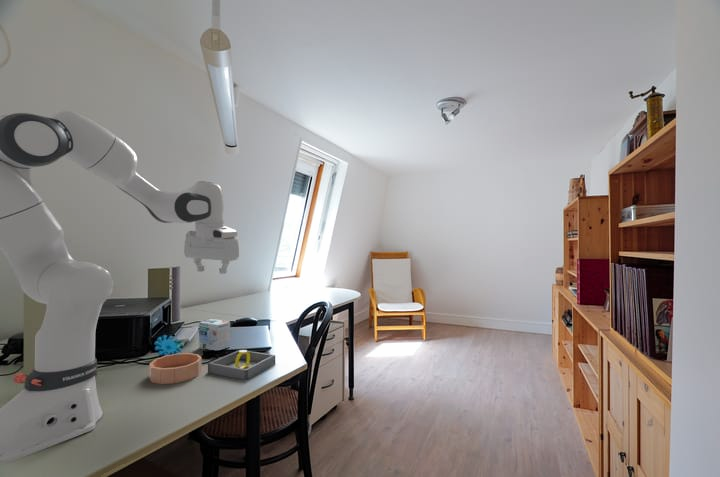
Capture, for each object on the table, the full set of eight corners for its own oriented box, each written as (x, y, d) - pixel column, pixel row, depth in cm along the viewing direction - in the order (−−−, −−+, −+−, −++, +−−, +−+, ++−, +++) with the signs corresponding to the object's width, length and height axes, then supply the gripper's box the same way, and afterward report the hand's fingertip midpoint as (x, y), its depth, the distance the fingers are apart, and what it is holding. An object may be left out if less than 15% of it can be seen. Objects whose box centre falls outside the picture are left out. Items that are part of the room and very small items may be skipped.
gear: (161, 358, 124) (152, 335, 129) (152, 368, 126) (144, 345, 130) (189, 354, 134) (180, 332, 138) (181, 363, 135) (172, 341, 140)
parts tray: (246, 379, 110) (246, 370, 110) (207, 372, 116) (207, 363, 116) (275, 363, 125) (275, 355, 125) (239, 357, 131) (240, 349, 131)
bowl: (173, 386, 105) (173, 371, 105) (139, 379, 110) (139, 364, 110) (210, 369, 118) (210, 356, 118) (178, 363, 124) (178, 351, 124)
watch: (245, 365, 124) (246, 348, 124) (251, 366, 122) (252, 349, 123) (232, 370, 118) (234, 352, 119) (239, 371, 117) (240, 353, 117)
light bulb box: (198, 348, 141) (198, 321, 141) (211, 344, 147) (211, 318, 147) (217, 352, 136) (217, 324, 136) (230, 347, 142) (230, 321, 142)
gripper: (178, 231, 117) (180, 271, 118) (228, 233, 110) (229, 276, 111) (193, 229, 123) (195, 268, 124) (241, 231, 116) (242, 272, 117)
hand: (211, 272), depth 118 cm, fingers open, 8 cm apart
